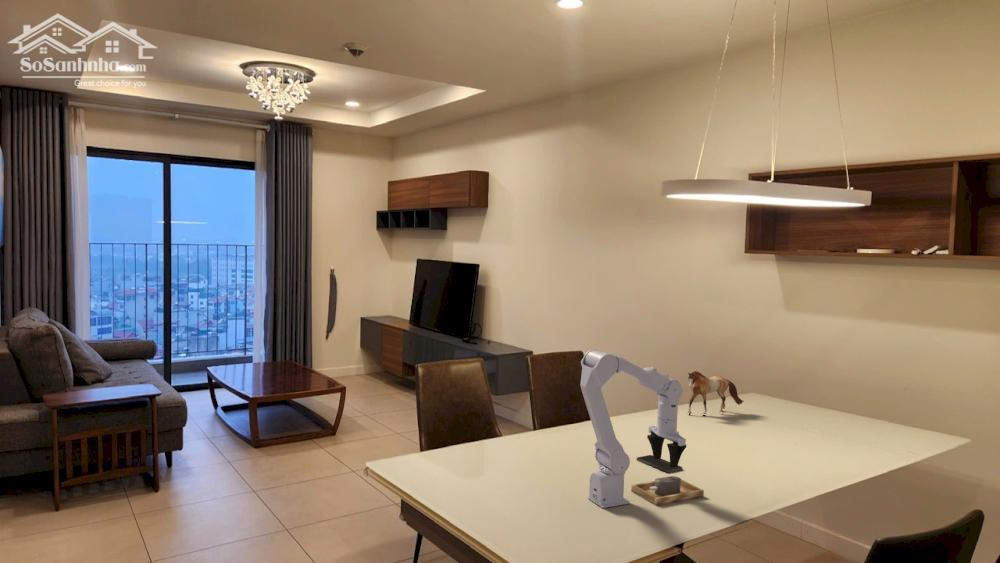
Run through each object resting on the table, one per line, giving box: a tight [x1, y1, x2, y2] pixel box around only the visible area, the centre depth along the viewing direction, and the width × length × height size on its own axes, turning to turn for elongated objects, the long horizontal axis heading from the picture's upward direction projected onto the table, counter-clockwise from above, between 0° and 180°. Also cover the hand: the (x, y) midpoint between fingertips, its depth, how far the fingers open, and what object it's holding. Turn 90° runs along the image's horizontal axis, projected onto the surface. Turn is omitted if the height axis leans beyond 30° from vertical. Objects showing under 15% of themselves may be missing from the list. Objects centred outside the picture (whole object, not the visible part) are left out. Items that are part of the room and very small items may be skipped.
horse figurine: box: [687, 370, 745, 415], centre depth 284 cm, size 31×8×21 cm, turn 112°
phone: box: [636, 454, 683, 474], centre depth 213 cm, size 8×1×15 cm
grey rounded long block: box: [649, 475, 681, 496], centre depth 186 cm, size 11×4×4 cm, turn 115°
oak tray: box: [631, 479, 705, 506], centre depth 187 cm, size 18×12×2 cm, turn 115°
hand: (665, 462), depth 187 cm, fingers open, 7 cm apart
